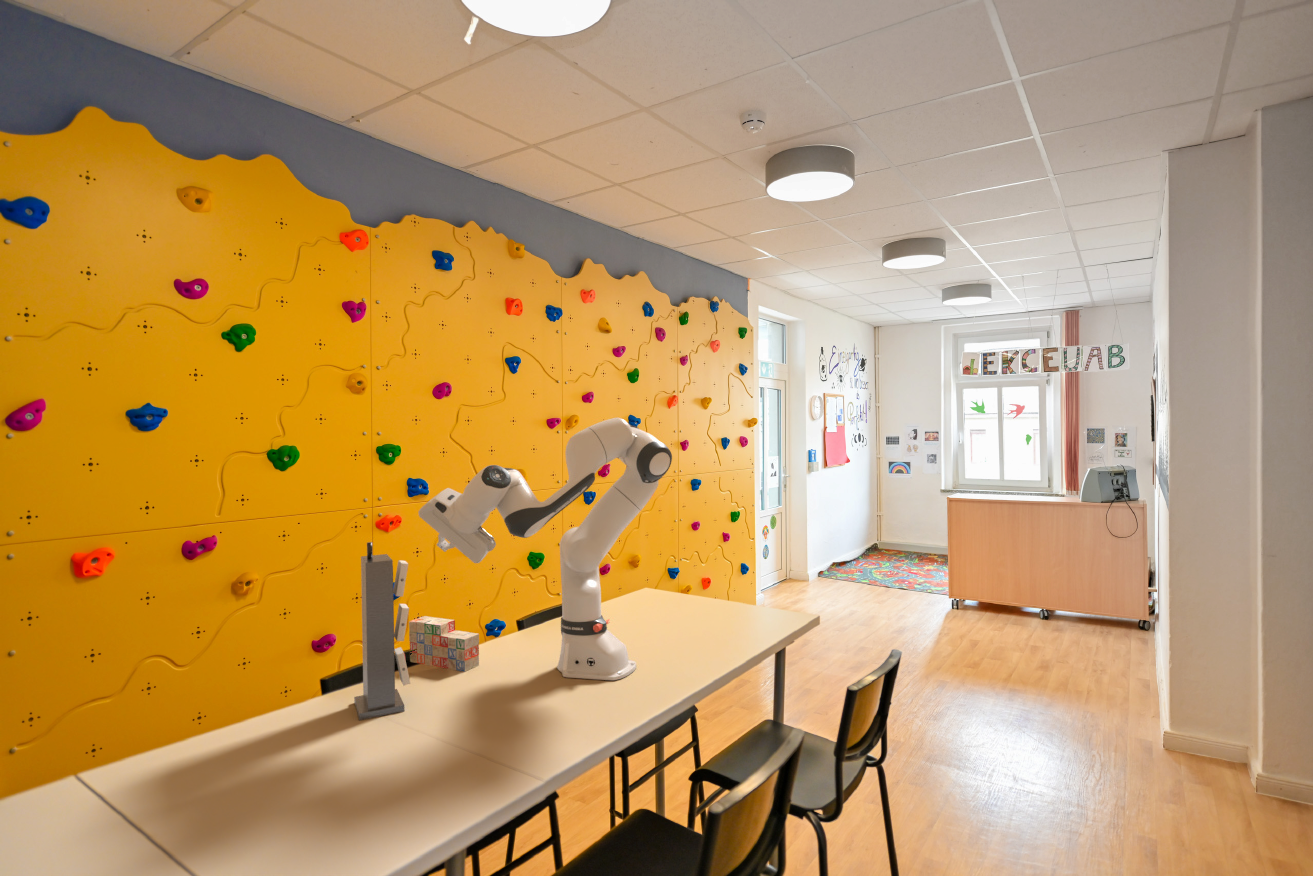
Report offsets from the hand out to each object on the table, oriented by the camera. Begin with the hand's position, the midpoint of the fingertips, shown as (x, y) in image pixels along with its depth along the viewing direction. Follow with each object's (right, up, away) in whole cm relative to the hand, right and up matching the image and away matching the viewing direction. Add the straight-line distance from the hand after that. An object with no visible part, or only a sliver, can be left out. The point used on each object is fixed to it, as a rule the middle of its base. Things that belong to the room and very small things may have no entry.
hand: (442, 547), depth 173 cm
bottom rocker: (-7, -33, -6) cm, 34 cm away
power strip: (-12, -38, -9) cm, 41 cm away
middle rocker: (-8, -22, -7) cm, 24 cm away
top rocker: (-9, -11, -7) cm, 15 cm away
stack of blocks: (-6, -38, +22) cm, 44 cm away
